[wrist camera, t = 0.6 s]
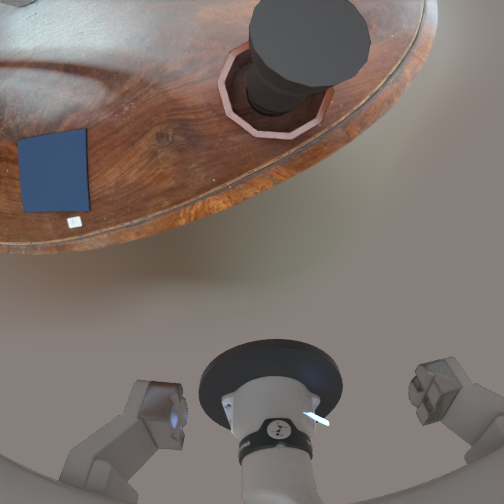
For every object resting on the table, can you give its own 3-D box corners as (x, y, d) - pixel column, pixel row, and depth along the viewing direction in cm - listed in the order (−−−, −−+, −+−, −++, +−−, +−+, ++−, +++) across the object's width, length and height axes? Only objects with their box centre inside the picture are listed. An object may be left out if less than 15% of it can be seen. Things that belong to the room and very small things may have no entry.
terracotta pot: (316, 141, 36) (330, 144, 30) (220, 135, 36) (213, 136, 29) (321, 57, 31) (336, 43, 25) (225, 49, 31) (220, 33, 25)
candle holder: (270, 126, 35) (310, 119, 12) (235, 92, 33) (214, 26, 10) (306, 96, 34) (399, 49, 11) (272, 61, 32) (311, -38, 9)
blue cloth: (90, 210, 39) (89, 211, 39) (25, 211, 39) (23, 212, 38) (87, 128, 34) (85, 128, 34) (19, 140, 34) (17, 140, 34)
